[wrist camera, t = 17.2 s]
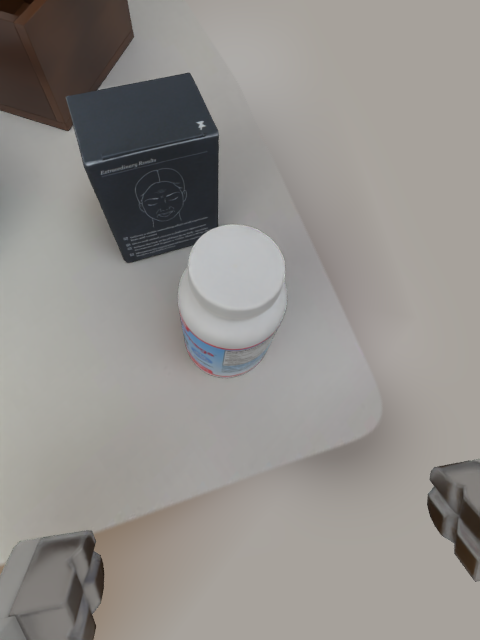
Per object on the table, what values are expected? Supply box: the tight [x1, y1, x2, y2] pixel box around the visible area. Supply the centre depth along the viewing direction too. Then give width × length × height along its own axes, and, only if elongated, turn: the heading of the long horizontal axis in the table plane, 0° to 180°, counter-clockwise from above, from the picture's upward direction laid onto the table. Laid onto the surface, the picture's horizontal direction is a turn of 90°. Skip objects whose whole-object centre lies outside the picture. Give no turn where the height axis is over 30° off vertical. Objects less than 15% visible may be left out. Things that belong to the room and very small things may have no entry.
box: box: [66, 73, 219, 263], centre depth 26 cm, size 8×6×11 cm
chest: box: [0, 0, 134, 131], centre depth 33 cm, size 15×13×9 cm
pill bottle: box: [178, 224, 287, 378], centre depth 23 cm, size 6×6×11 cm
